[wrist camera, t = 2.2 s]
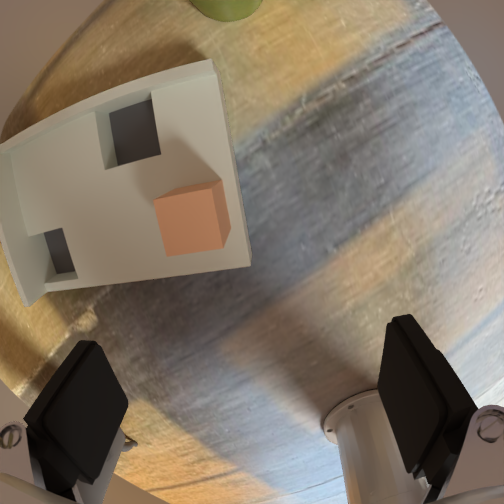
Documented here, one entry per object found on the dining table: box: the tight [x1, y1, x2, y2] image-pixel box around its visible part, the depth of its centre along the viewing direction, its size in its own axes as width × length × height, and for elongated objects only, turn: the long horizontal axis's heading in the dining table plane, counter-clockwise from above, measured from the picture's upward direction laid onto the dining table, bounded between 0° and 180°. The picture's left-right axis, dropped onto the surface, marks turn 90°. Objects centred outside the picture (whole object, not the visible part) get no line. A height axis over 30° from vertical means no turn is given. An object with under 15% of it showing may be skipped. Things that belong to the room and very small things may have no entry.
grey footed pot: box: [76, 427, 138, 504], centre depth 28 cm, size 19×15×25 cm
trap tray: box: [0, 59, 252, 307], centre depth 24 cm, size 24×17×6 cm
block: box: [153, 180, 231, 257], centre depth 22 cm, size 4×4×5 cm
